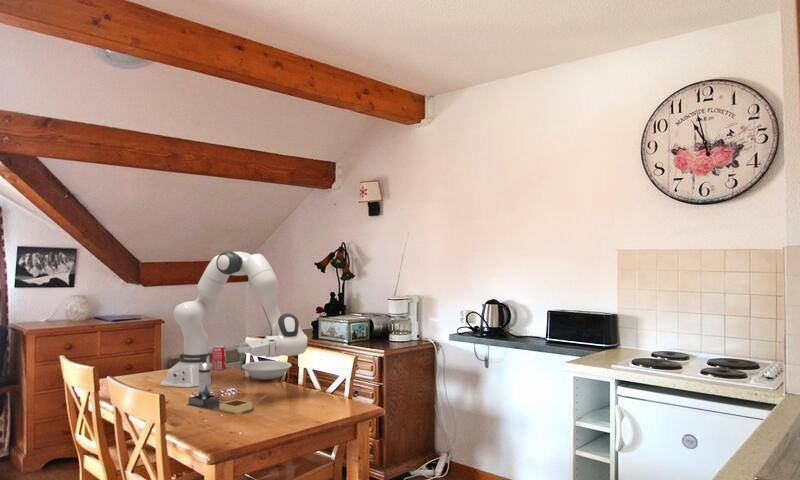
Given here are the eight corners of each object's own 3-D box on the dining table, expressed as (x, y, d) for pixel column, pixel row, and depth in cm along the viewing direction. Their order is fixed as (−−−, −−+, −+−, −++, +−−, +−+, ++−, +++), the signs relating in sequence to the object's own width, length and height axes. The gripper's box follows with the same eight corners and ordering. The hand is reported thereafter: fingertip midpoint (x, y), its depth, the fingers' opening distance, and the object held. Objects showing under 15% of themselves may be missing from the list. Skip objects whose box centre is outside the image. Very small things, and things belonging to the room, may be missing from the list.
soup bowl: (290, 383, 270) (291, 369, 270) (238, 384, 266) (239, 370, 266) (292, 373, 294) (292, 360, 294) (244, 374, 290) (244, 361, 290)
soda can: (221, 367, 307) (222, 344, 307) (228, 369, 302) (228, 346, 302) (209, 368, 302) (209, 346, 302) (215, 370, 297) (216, 347, 297)
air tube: (196, 404, 227) (196, 364, 227) (200, 401, 231) (201, 362, 232) (207, 404, 226) (208, 364, 227) (211, 401, 231) (212, 362, 231)
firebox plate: (185, 407, 226) (185, 398, 226) (207, 401, 236) (207, 392, 236) (232, 417, 213) (232, 407, 213) (254, 410, 222) (254, 401, 222)
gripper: (265, 335, 250) (232, 337, 244) (274, 342, 231) (240, 344, 225) (265, 350, 249) (232, 352, 244) (274, 357, 231) (239, 360, 225)
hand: (236, 348), depth 234 cm, fingers open, 8 cm apart
